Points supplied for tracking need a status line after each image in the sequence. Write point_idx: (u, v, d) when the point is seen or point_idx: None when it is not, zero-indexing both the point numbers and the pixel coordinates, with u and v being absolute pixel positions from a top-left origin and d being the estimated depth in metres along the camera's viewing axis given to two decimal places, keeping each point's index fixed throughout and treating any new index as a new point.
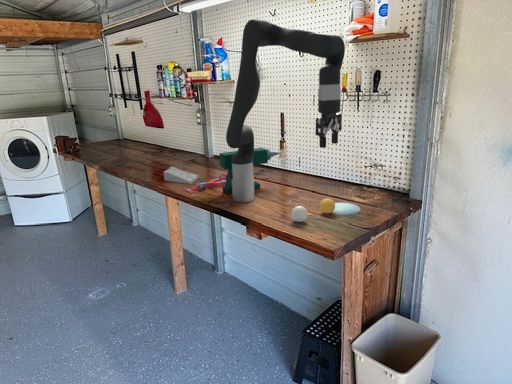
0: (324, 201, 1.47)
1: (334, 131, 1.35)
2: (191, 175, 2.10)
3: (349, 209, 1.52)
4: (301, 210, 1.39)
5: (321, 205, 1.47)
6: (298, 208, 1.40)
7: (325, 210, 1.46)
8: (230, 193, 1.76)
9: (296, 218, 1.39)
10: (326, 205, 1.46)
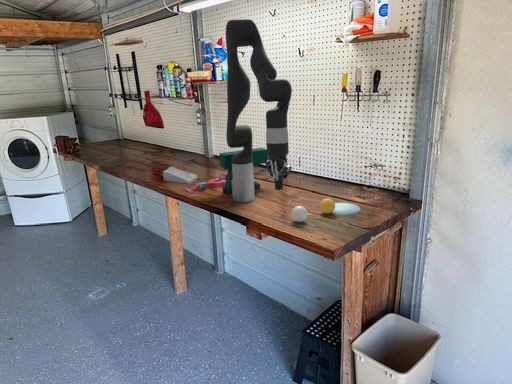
0: (324, 201, 1.47)
1: None
2: (190, 175, 2.10)
3: (349, 209, 1.52)
4: (301, 210, 1.39)
5: (321, 205, 1.47)
6: (298, 208, 1.40)
7: (325, 210, 1.46)
8: (230, 193, 1.76)
9: (296, 218, 1.39)
10: (326, 205, 1.46)
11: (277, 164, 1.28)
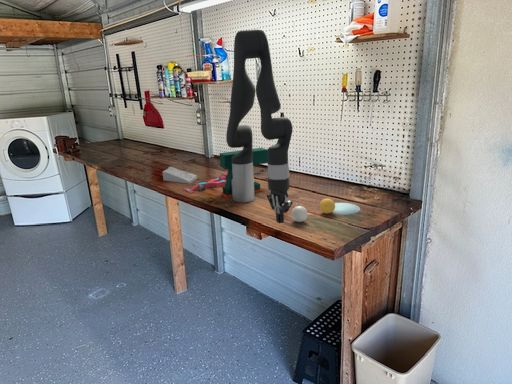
0: (324, 201, 1.47)
1: None
2: (190, 175, 2.10)
3: (349, 209, 1.52)
4: (301, 210, 1.39)
5: (321, 205, 1.47)
6: (298, 208, 1.40)
7: (325, 210, 1.46)
8: (230, 193, 1.76)
9: (296, 218, 1.39)
10: (326, 205, 1.46)
11: (278, 199, 1.31)
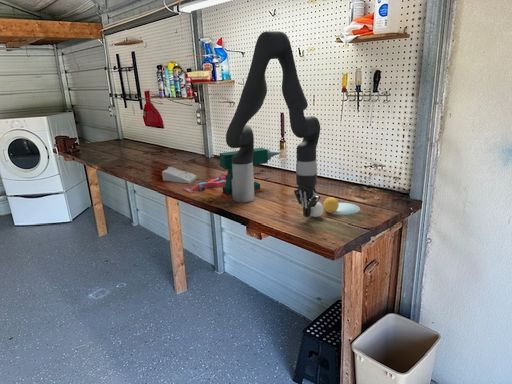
0: (331, 198, 1.49)
1: None
2: (190, 175, 2.11)
3: (349, 209, 1.52)
4: None
5: (327, 199, 1.48)
6: None
7: (329, 205, 1.47)
8: (230, 193, 1.76)
9: (320, 204, 1.44)
10: (332, 201, 1.47)
11: (306, 194, 1.38)
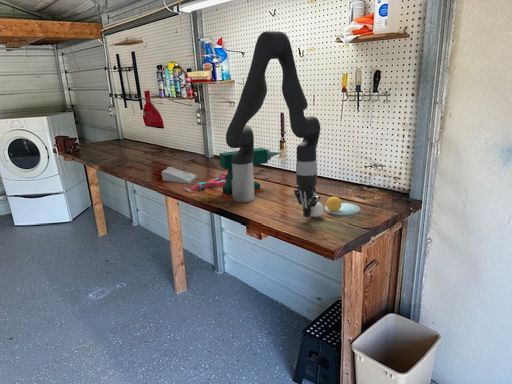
0: (337, 197, 1.50)
1: None
2: (189, 175, 2.11)
3: (349, 209, 1.52)
4: None
5: None
6: None
7: (333, 201, 1.48)
8: (230, 193, 1.76)
9: (320, 204, 1.44)
10: (337, 199, 1.48)
11: (306, 194, 1.38)
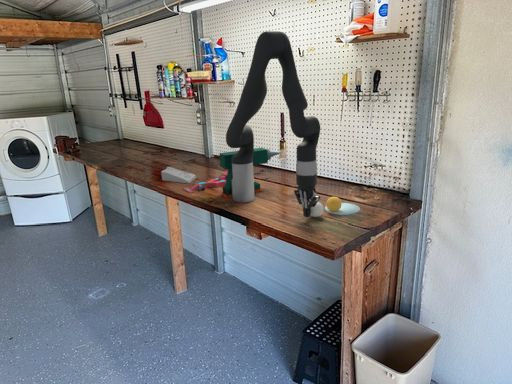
0: (337, 197, 1.50)
1: None
2: (189, 175, 2.11)
3: (349, 209, 1.52)
4: None
5: None
6: None
7: (333, 201, 1.48)
8: (230, 193, 1.76)
9: (320, 204, 1.44)
10: (337, 199, 1.48)
11: (306, 194, 1.38)
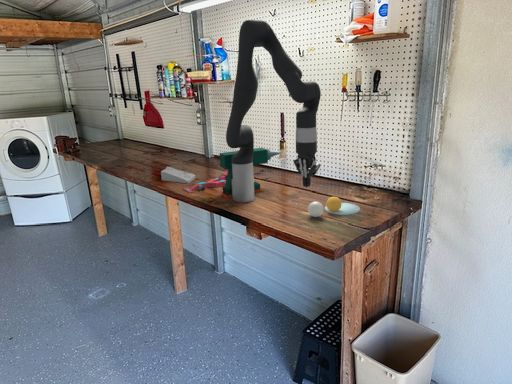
0: (337, 197, 1.50)
1: None
2: (188, 175, 2.11)
3: (349, 209, 1.52)
4: None
5: None
6: None
7: (333, 201, 1.48)
8: (230, 193, 1.76)
9: (320, 204, 1.44)
10: (337, 199, 1.48)
11: (306, 162, 1.34)
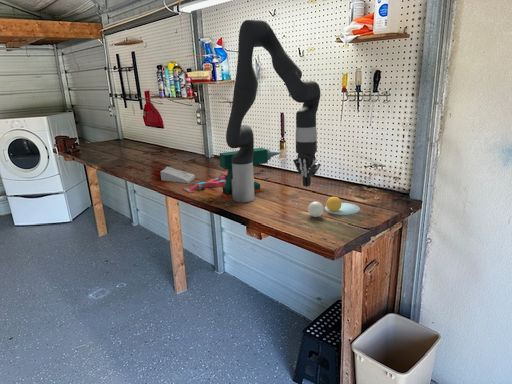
0: (337, 197, 1.50)
1: None
2: (188, 174, 2.12)
3: (349, 209, 1.52)
4: None
5: None
6: None
7: (333, 201, 1.48)
8: (230, 193, 1.76)
9: (320, 204, 1.44)
10: (337, 199, 1.48)
11: (306, 162, 1.34)
